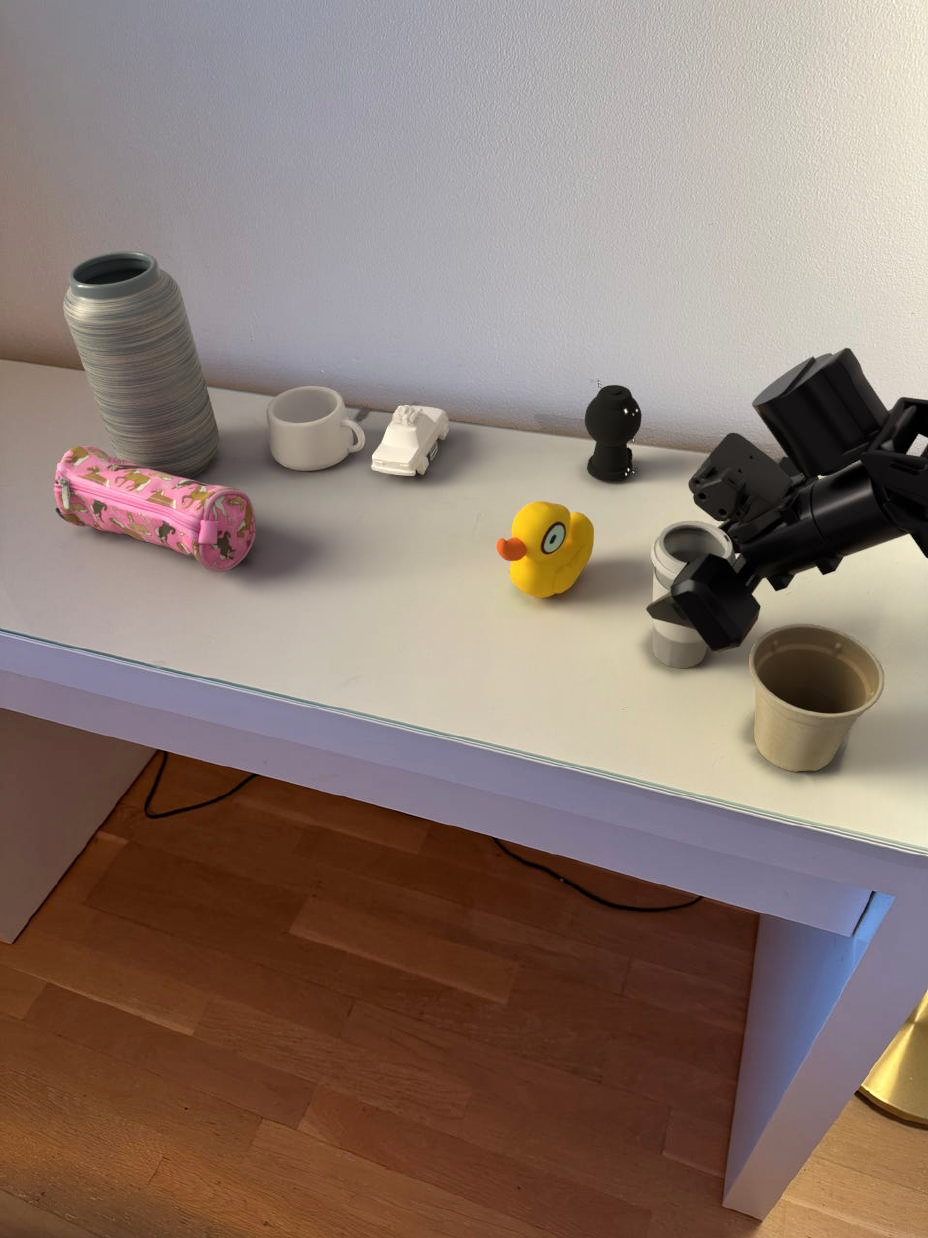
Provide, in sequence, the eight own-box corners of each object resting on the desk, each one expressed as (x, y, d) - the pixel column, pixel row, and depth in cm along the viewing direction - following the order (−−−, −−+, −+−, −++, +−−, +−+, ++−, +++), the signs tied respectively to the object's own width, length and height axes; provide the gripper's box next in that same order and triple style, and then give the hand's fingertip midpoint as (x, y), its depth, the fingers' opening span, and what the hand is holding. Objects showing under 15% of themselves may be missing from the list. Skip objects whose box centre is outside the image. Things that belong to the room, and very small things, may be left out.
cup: (730, 671, 80) (753, 564, 71) (656, 685, 79) (670, 578, 71) (699, 616, 85) (717, 510, 76) (629, 628, 84) (640, 523, 76)
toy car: (454, 433, 109) (450, 381, 104) (418, 491, 101) (413, 438, 96) (406, 426, 111) (401, 375, 106) (368, 483, 102) (360, 430, 98)
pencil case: (59, 541, 98) (27, 471, 92) (119, 493, 104) (93, 424, 98) (220, 596, 90) (197, 524, 84) (275, 541, 96) (258, 470, 90)
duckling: (521, 631, 84) (520, 546, 78) (482, 603, 88) (477, 518, 81) (606, 574, 90) (612, 489, 83) (566, 549, 93) (569, 465, 86)
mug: (256, 464, 106) (244, 419, 102) (298, 421, 113) (289, 377, 108) (347, 485, 103) (340, 438, 98) (386, 439, 109) (381, 393, 105)
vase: (102, 481, 106) (26, 284, 90) (163, 428, 113) (103, 239, 97) (186, 500, 102) (122, 299, 86) (243, 445, 110) (195, 251, 94)
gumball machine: (651, 476, 101) (660, 394, 94) (609, 496, 99) (615, 414, 92) (611, 449, 105) (616, 369, 98) (570, 468, 103) (572, 387, 96)
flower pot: (740, 687, 78) (758, 612, 72) (859, 712, 76) (886, 636, 70) (724, 773, 72) (741, 699, 66) (852, 803, 69) (882, 729, 63)
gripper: (820, 364, 69) (669, 449, 81) (715, 492, 58) (559, 567, 70) (901, 483, 71) (741, 548, 83) (813, 629, 60) (644, 678, 72)
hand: (675, 580), depth 77 cm, fingers open, 9 cm apart
